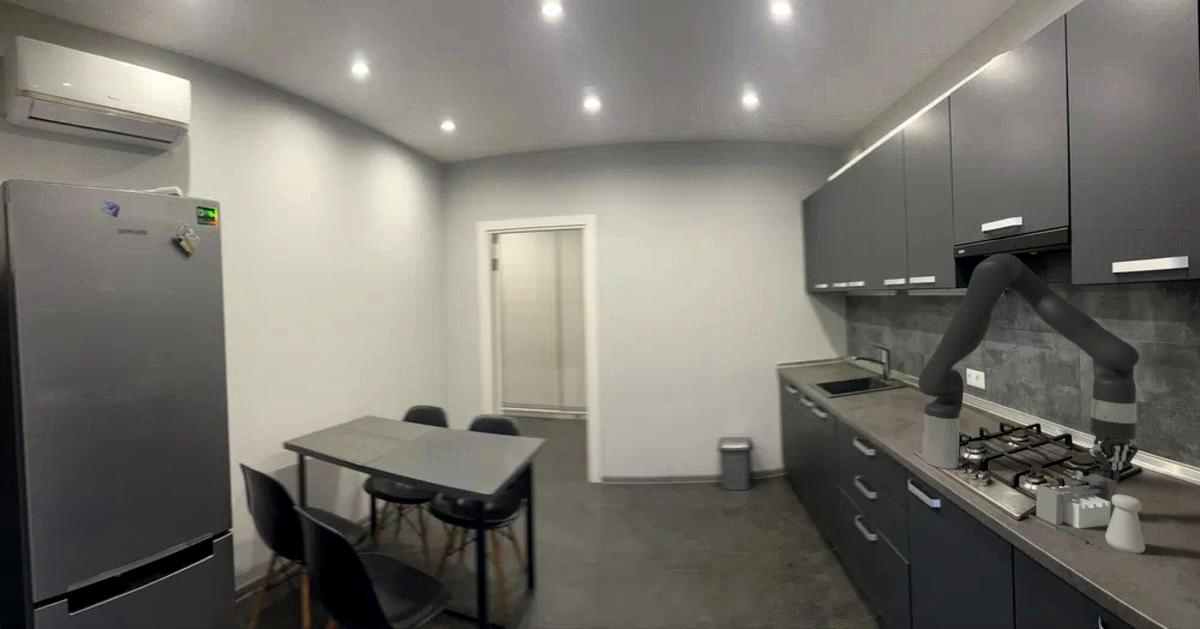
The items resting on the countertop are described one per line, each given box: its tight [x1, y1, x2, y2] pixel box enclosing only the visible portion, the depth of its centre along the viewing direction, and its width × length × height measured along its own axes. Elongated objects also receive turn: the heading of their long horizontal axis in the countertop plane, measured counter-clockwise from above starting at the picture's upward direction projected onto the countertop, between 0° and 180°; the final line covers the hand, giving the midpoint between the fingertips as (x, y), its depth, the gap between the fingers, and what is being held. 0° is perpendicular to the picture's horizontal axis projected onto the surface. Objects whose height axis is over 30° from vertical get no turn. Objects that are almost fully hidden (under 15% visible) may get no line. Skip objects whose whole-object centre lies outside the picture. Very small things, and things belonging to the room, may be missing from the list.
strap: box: [1048, 484, 1102, 496], centre depth 108 cm, size 3×13×1 cm, turn 96°
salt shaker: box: [1104, 493, 1146, 554], centre depth 96 cm, size 6×6×13 cm
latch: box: [1082, 473, 1117, 519], centre depth 109 cm, size 4×5×10 cm
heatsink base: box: [1012, 483, 1111, 545], centre depth 109 cm, size 16×21×10 cm
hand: (1110, 482), depth 110 cm, fingers closed
